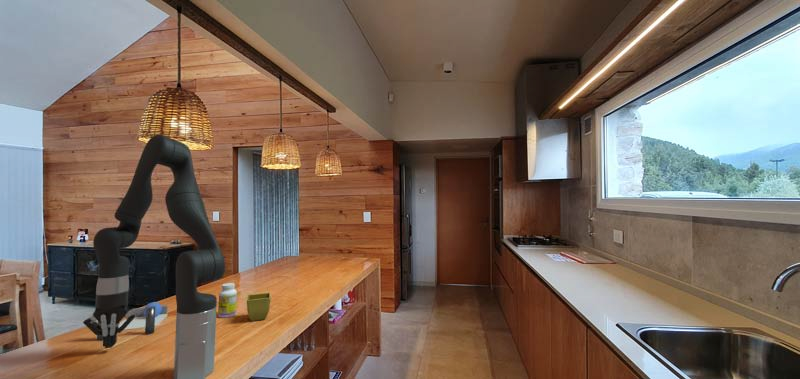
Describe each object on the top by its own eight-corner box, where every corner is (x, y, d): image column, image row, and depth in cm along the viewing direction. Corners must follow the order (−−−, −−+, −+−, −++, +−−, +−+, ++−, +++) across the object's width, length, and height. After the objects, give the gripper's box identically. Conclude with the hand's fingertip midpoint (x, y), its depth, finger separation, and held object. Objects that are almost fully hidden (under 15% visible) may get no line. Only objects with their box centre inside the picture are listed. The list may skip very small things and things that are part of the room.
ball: (162, 317, 129) (157, 315, 124) (145, 319, 127) (139, 317, 122) (165, 302, 132) (160, 299, 127) (148, 304, 130) (142, 301, 125)
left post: (105, 339, 105) (106, 312, 106) (95, 341, 104) (97, 313, 105) (108, 337, 108) (110, 310, 108) (99, 338, 107) (100, 311, 107)
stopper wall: (166, 313, 131) (166, 306, 132) (130, 317, 127) (131, 309, 127) (167, 312, 133) (167, 305, 133) (132, 316, 128) (132, 308, 128)
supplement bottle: (214, 316, 128) (215, 285, 129) (229, 311, 134) (230, 281, 135) (224, 319, 125) (225, 287, 126) (239, 314, 131) (240, 283, 132)
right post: (152, 333, 110) (154, 308, 111) (143, 335, 109) (145, 309, 110) (155, 331, 113) (156, 306, 113) (146, 332, 112) (147, 306, 112)
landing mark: (157, 326, 118) (157, 325, 118) (110, 331, 112) (110, 331, 112) (168, 314, 130) (168, 313, 130) (126, 318, 125) (126, 318, 125)
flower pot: (246, 316, 128) (247, 294, 129) (269, 313, 132) (270, 292, 132) (245, 323, 120) (246, 300, 121) (270, 320, 124) (270, 297, 124)
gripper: (78, 296, 92) (74, 356, 91) (134, 291, 97) (131, 348, 96) (91, 289, 98) (88, 345, 97) (143, 285, 104) (140, 338, 103)
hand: (109, 346), depth 97 cm, fingers closed
